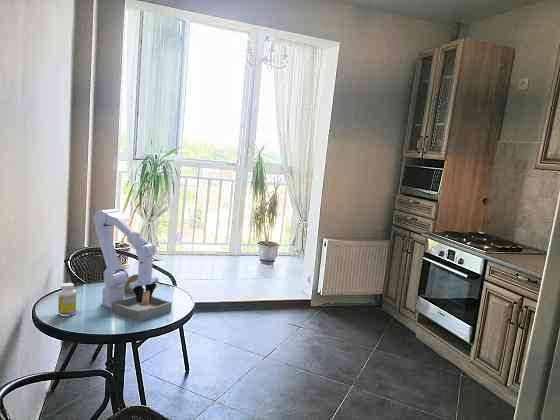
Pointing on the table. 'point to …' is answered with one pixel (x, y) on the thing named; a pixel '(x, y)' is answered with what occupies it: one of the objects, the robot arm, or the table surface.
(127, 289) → the rock
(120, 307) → the bin
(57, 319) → the table surface
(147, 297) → the orange-brown upright cylinder
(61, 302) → the supplement bottle
